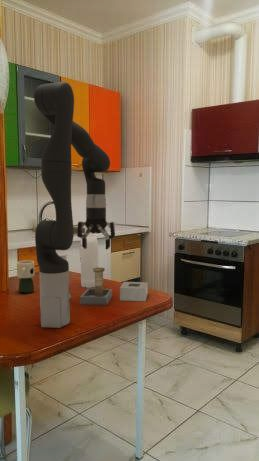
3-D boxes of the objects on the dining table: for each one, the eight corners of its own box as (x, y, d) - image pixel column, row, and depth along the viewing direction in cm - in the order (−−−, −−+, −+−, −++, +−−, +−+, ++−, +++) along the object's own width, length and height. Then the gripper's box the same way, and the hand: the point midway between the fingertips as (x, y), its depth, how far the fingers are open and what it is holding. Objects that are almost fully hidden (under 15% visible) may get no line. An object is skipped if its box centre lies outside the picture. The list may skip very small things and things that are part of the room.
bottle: (78, 285, 169) (76, 219, 166) (93, 282, 174) (92, 218, 171) (86, 288, 163) (84, 220, 160) (101, 286, 167) (101, 219, 164)
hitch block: (145, 301, 144) (145, 288, 144) (120, 300, 145) (119, 287, 145) (147, 294, 154) (147, 282, 153) (123, 293, 155) (123, 281, 155)
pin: (103, 300, 143) (103, 270, 142) (92, 300, 143) (92, 269, 142) (105, 297, 147) (105, 267, 146) (94, 297, 148) (94, 267, 147)
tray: (106, 305, 139) (106, 297, 139) (80, 304, 140) (80, 296, 140) (112, 296, 151) (112, 289, 150) (87, 295, 152) (87, 288, 152)
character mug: (33, 295, 153) (32, 264, 151) (15, 296, 152) (14, 264, 151) (36, 288, 164) (36, 259, 162) (20, 289, 163) (19, 259, 161)
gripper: (75, 206, 139) (75, 249, 141) (112, 207, 137) (112, 250, 139) (80, 206, 147) (80, 247, 148) (116, 206, 145) (116, 247, 146)
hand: (96, 248), depth 143 cm, fingers open, 8 cm apart
